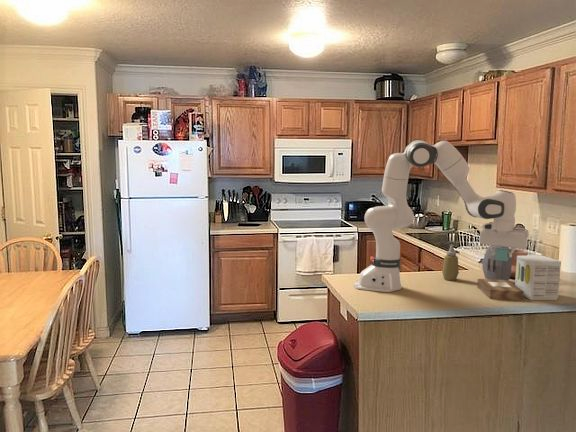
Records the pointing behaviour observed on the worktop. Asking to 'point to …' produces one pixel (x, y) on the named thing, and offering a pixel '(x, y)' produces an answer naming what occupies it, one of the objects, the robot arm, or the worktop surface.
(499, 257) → the teal cube
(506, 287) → the walnut plinth
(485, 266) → the small grey backpack
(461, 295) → the worktop surface
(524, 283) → the supplement box
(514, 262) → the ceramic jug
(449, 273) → the squeeze bottle
